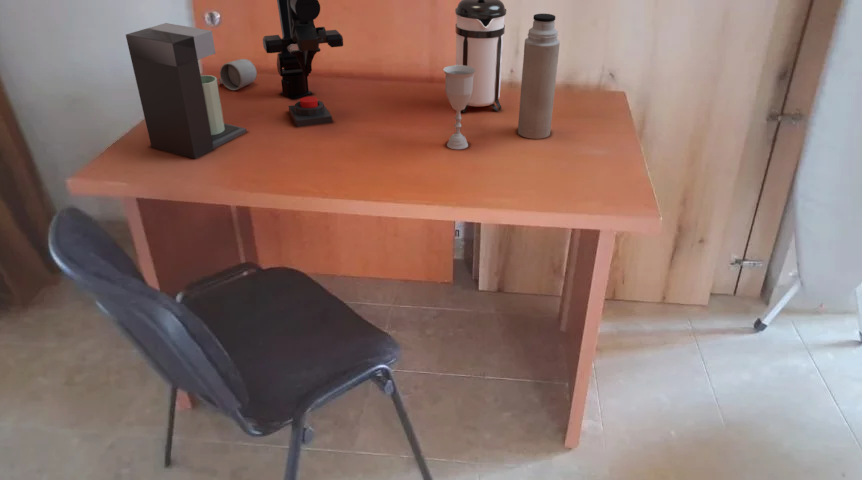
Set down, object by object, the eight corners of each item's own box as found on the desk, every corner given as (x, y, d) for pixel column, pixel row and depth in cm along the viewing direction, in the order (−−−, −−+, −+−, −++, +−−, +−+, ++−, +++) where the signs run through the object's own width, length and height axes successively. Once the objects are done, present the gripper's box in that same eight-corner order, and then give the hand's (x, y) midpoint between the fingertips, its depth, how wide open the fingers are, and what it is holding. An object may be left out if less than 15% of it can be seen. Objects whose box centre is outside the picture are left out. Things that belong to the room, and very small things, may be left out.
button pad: (289, 112, 183) (287, 99, 182) (322, 108, 186) (321, 95, 184) (297, 127, 175) (295, 114, 173) (332, 122, 177) (331, 109, 175)
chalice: (476, 141, 167) (479, 67, 157) (468, 152, 162) (471, 75, 152) (447, 137, 169) (448, 63, 159) (438, 148, 164) (439, 72, 154)
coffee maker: (206, 122, 178) (187, 16, 163) (248, 132, 172) (232, 24, 158) (151, 147, 164) (125, 34, 150) (195, 159, 159) (172, 43, 144)
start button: (299, 104, 180) (298, 97, 179) (315, 102, 181) (315, 95, 180) (302, 109, 176) (301, 103, 175) (319, 107, 178) (319, 101, 177)
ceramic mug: (260, 83, 203) (256, 57, 199) (243, 92, 196) (238, 65, 192) (231, 79, 206) (226, 53, 202) (213, 87, 200) (208, 60, 196)
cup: (225, 124, 173) (217, 74, 166) (223, 134, 168) (215, 83, 161) (197, 125, 172) (188, 75, 166) (194, 136, 167) (184, 85, 160)
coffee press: (518, 103, 189) (526, -14, 173) (480, 119, 179) (486, -3, 163) (469, 89, 199) (473, -23, 183) (431, 103, 189) (431, -14, 173)
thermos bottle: (523, 124, 176) (532, 9, 161) (554, 129, 174) (566, 13, 158) (513, 135, 170) (522, 17, 155) (544, 141, 168) (556, 20, 152)
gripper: (266, 22, 157) (274, 90, 165) (346, 16, 162) (350, 81, 171) (258, 11, 166) (266, 76, 174) (335, 5, 171) (339, 68, 180)
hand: (306, 76), depth 174 cm, fingers closed
